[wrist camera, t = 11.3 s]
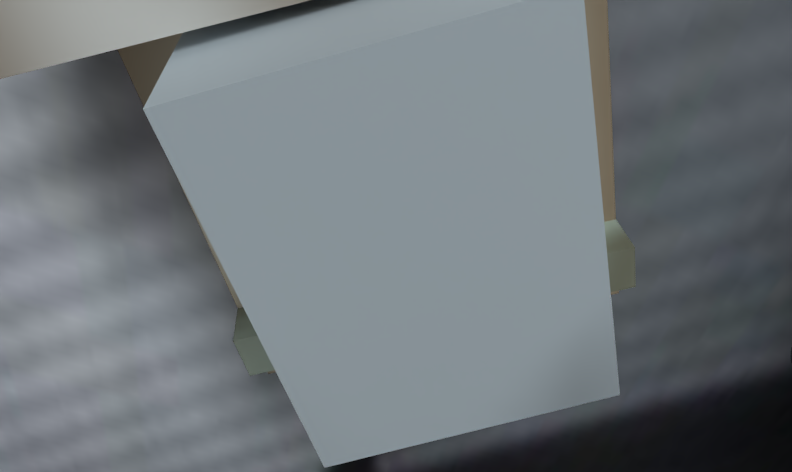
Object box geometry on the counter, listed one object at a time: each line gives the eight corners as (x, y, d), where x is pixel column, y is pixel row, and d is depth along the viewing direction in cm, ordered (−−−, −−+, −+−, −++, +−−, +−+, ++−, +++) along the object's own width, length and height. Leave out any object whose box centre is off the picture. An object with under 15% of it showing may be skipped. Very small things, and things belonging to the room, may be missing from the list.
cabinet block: (467, -104, 15) (582, -16, 9) (523, 217, 20) (622, 427, 14) (215, -30, 16) (143, 108, 9) (331, 268, 21) (339, 496, 14)
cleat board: (585, -311, 14) (757, -370, 8) (612, 281, 23) (704, 438, 17) (29, -162, 14) (-144, -127, 9) (269, 361, 23) (255, 537, 18)
